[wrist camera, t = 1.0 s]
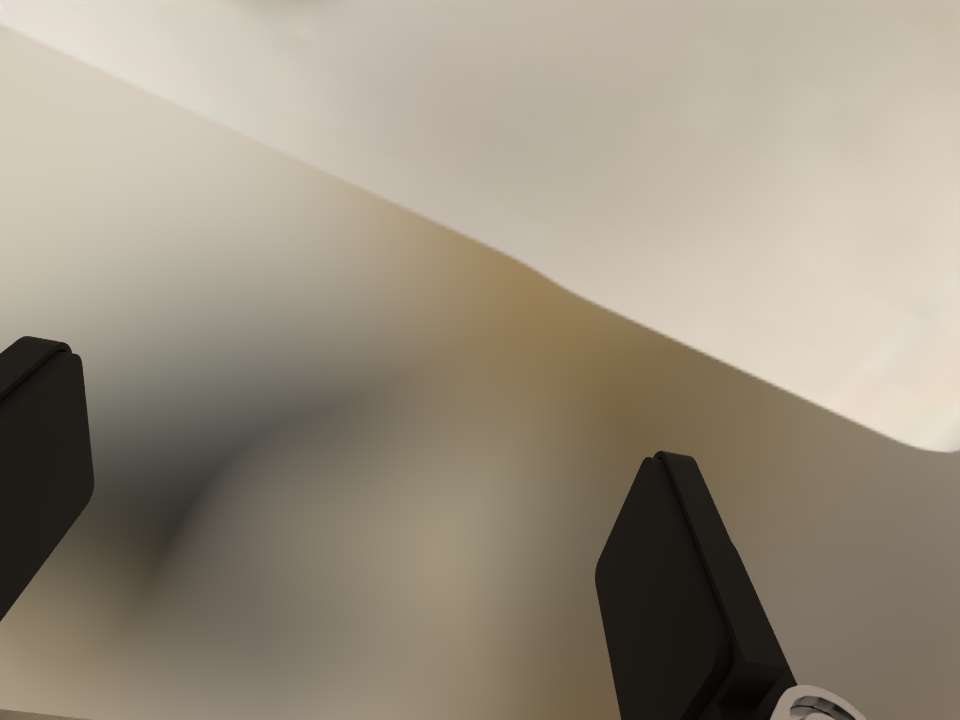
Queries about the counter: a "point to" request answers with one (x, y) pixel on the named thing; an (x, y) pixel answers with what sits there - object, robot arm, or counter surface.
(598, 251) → the counter surface
